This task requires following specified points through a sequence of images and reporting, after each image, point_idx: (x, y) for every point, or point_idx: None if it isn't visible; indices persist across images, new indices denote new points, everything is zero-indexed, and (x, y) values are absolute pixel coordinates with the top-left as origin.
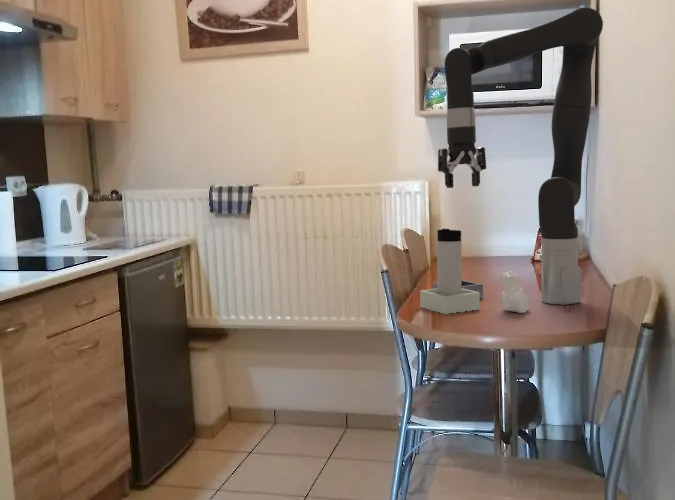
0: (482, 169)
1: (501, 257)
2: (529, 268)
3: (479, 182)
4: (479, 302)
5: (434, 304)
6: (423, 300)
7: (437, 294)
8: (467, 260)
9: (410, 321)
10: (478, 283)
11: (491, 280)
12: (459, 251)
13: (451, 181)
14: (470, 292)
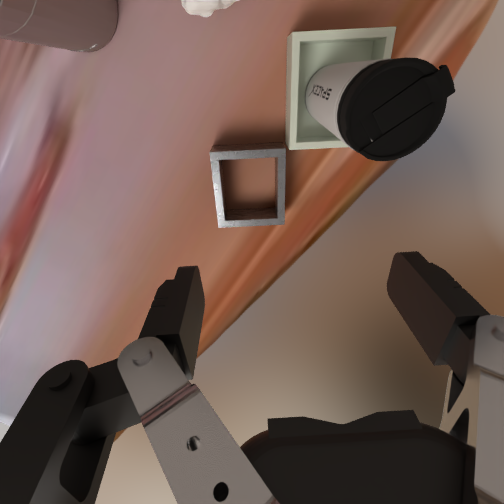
0: (92, 370)
1: (18, 411)
2: (3, 331)
3: (165, 285)
4: (289, 35)
5: None
6: None
7: None
8: None
9: (479, 14)
10: (212, 165)
11: (113, 280)
12: (359, 63)
13: (435, 273)
14: (298, 63)
